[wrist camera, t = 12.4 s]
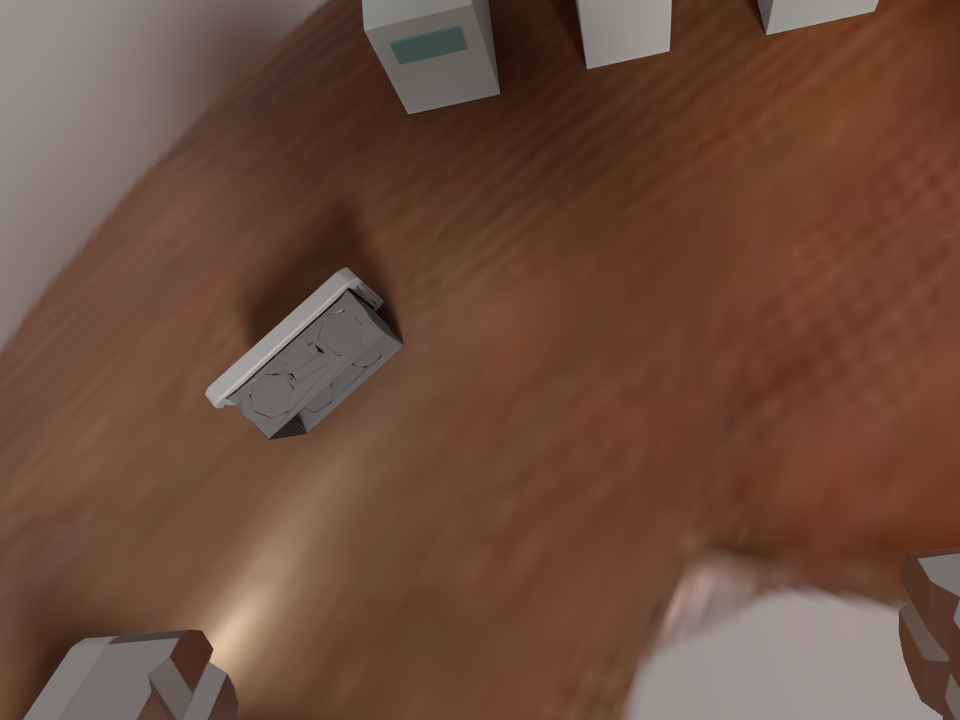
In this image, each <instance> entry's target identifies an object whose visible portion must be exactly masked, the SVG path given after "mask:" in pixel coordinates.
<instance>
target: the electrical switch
mask: <svg viewBox="0 0 960 720" xmlns="http://www.w3.org/2000/svg"><path fill="white" fill-rule="evenodd" d="M383 302H384V301H383V300H382V299H381V298H380V297H379V296H378V295H377V294H376V293H374V292H373V291H372V290H371V289H370V288H369V287H368V286H367V285H366V284H365V283H364V282H362V281H361V280H360V279H359V278H358V277H357V276H356V275H355V274H354V273H353V272H351V271H350V270H349V269H348V268H347V267H345V268H343V269H341V270H340V271H338V272H336V273H335V274H334V275H333V276H332V277H331V278H329V279H328V280H327V281H326V282H325V283H324V284H323V285H322V286H321V287H319V288H318V289H317V290H316V291H315V292H314V293H313V294H312V295H311V296H309V297H308V298H307V299H306V300H305V301H304V302H303V303H302V304H301V305H299V306H298V307H297V308H296V309H295V310H294V311H293V312H292V313H291V314H289V315H288V316H287V317H286V318H285V319H284V320H283V321H282V322H281V323H279V324H278V325H277V326H276V327H275V328H274V329H273V330H272V331H270V332H269V333H268V334H267V335H266V336H265V337H264V338H263V339H262V340H260V341H259V342H258V343H257V344H256V345H255V346H254V347H253V348H252V349H250V350H249V351H248V352H247V353H246V354H245V355H244V356H243V357H242V358H240V359H239V360H238V361H237V362H236V363H235V364H234V365H233V366H232V367H230V368H229V369H228V370H227V371H226V372H225V373H224V374H223V375H222V376H220V377H219V378H218V379H217V380H216V381H215V382H214V383H213V384H211V385H210V386H209V387H208V389H207V391H206V393H205V395H206V396H207V398H208V399H209V400H210V402H211V403H212V404H213V405H214V407H216V408H222V407H224V405H236V406H237V408H238V409H239V410H240V412H241V413H242V414H243V415H244V416H245V417H247V418H248V419H249V420H251V421H252V422H253V423H254V424H255V425H256V426H257V427H258V428H259V430H260V431H261V432H262V433H263V434H264V435H265V436H266V438H267V439H268V440H270V439H276V438H283V437H289V436H296V435H302V434H307V433H306V432H305V431H304V430H303V428H304V429H305V430H306V431H307V432H309V431H310V430H311V429H312V428H313V427H314V426H316V425H317V424H318V423H319V422H320V421H321V420H322V419H323V418H324V417H325V416H327V415H328V414H329V413H330V412H331V411H332V410H333V409H334V408H335V407H336V406H338V405H339V404H340V403H341V402H342V401H343V400H344V399H345V398H346V397H347V396H349V395H350V394H351V393H352V392H353V391H354V390H355V389H356V388H357V387H359V386H360V385H361V384H362V383H363V382H364V381H365V380H366V379H367V378H368V377H370V376H371V375H372V374H373V373H374V372H375V371H376V370H377V369H378V368H379V367H381V366H382V365H383V364H384V363H385V362H386V361H387V360H388V359H389V358H390V357H392V356H393V355H394V354H395V353H396V352H397V351H398V350H399V349H400V348H401V347H402V346H403V344H402V342H401V341H400V340H399V339H398V337H397V336H396V335H395V334H394V333H393V332H392V330H391V326H389V325H388V324H386V323H385V322H384V321H383V320H382V319H381V318H380V317H379V315H378V314H377V313H376V312H375V311H376V310H378V309H379V308H380V306H381V305H382V303H383ZM378 358H379V359H378ZM353 363H354V364H355V365H357V366H355V365H352V364H353ZM368 365H369V366H368ZM364 366H367V367H366V368H363V367H364ZM331 383H332V389H331V385H330V384H331ZM330 402H331V403H330ZM329 403H330V404H329ZM328 404H329V405H328ZM307 409H308V410H307ZM266 416H267V417H266ZM298 423H299V424H300V425H301V426H302V427H303V428H302V427H301V426H300V425H299V424H298Z"/></svg>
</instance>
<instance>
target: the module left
mask: <svg viewBox="0 0 960 720" xmlns="http://www.w3.org/2000/svg"><path fill="white" fill-rule="evenodd" d="M362 7H363V22H364V31H365V33H366V35H367V37H368V39H369V41H370V43H371V45H372V47H373V48H374V50H375V52H376V54H377V56H378V58H379V60H380V62H381V64H382V66H383V67H384V69H385V71H386V73H387V75H388V77H389V79H390V81H391V83H392V84H393V86H394V88H395V90H396V92H397V94H398V96H399V98H400V100H401V102H402V103H403V105H404V107H405V109H406V111H407V113H408V115H409V114H413V113H418V112H422V111H427V110H431V109H436V108H440V107H445V106H450V105H454V104H459V103H463V102H468V101H472V100H477V99H481V98H486V97H490V96H495V95H499V94H500V88H499V81H498V73H497V65H496V57H495V50H494V42H493V34H492V26H491V18H490V11H489V3H488V0H362Z"/></svg>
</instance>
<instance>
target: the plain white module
mask: <svg viewBox="0 0 960 720" xmlns="http://www.w3.org/2000/svg"><path fill="white" fill-rule="evenodd" d="M671 5H672V0H576V6H577V12H578V18H579V24H580V30H581V36H582V42H583V48H584V54H585V60H586V66H587V69H591V68H595V67H600V66H604V65H609V64H613V63H618V62H622V61H627V60H632V59H636V58H641V57H645V56H650V55H654V54H659V53H663V52H668V51H670V31H671Z"/></svg>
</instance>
